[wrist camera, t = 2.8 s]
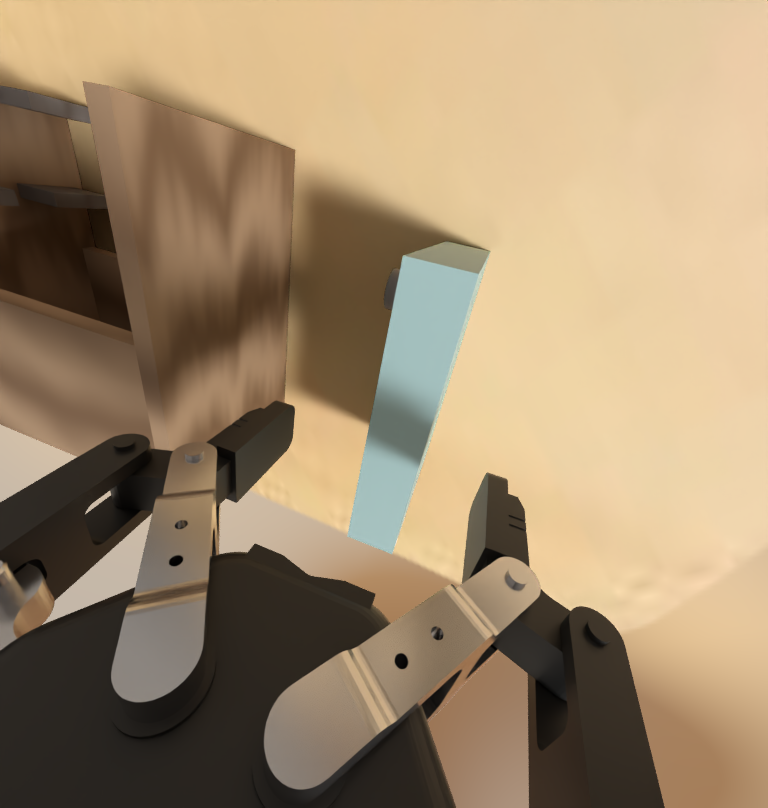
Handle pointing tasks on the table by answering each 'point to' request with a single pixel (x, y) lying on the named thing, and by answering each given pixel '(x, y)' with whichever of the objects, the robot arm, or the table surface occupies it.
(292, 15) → the table surface
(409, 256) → the door
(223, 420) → the cabinet
